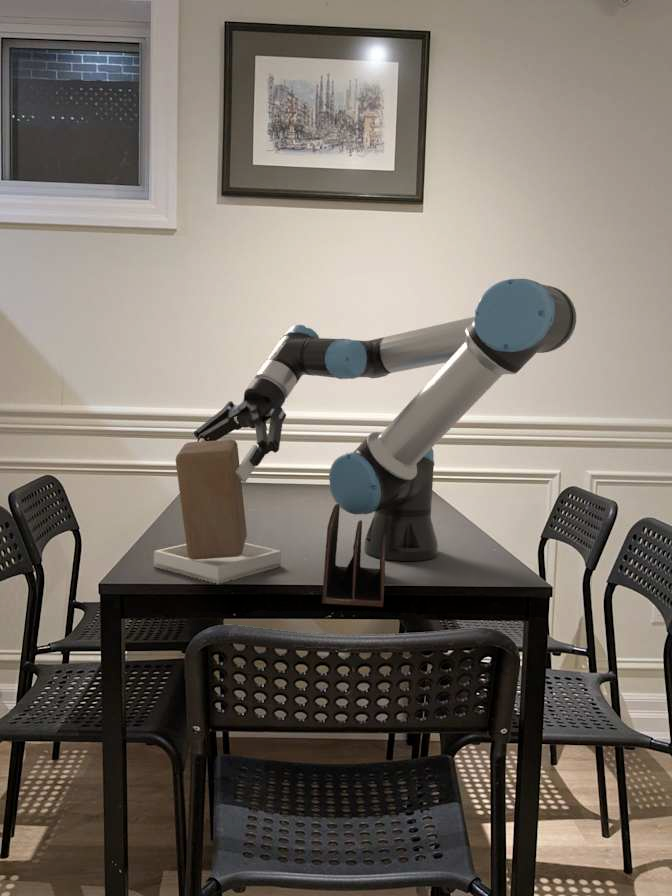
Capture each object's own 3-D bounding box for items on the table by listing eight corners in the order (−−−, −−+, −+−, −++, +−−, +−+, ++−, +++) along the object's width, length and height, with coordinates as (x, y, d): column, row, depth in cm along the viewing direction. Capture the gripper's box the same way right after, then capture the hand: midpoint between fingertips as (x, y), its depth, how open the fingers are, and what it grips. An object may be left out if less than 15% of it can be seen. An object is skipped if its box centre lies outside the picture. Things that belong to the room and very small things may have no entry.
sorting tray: (280, 566, 151) (281, 550, 150) (217, 584, 137) (218, 567, 137) (218, 551, 160) (218, 536, 160) (153, 566, 147) (153, 550, 147)
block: (242, 558, 143) (230, 451, 138) (187, 562, 144) (173, 455, 138) (247, 538, 153) (237, 437, 148) (196, 541, 153) (183, 441, 148)
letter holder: (321, 605, 129) (324, 519, 127) (331, 572, 149) (334, 498, 147) (383, 608, 128) (387, 522, 127) (385, 575, 148) (388, 500, 146)
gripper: (328, 406, 151) (273, 494, 140) (232, 399, 165) (177, 477, 155) (311, 378, 146) (254, 467, 136) (214, 373, 161) (156, 452, 150)
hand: (212, 473), depth 145 cm, fingers closed on block, 13 cm apart
